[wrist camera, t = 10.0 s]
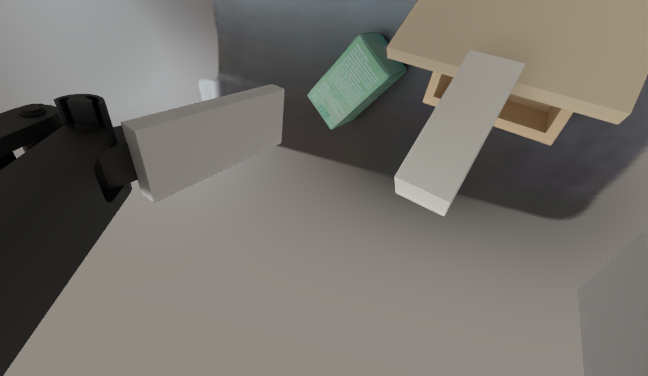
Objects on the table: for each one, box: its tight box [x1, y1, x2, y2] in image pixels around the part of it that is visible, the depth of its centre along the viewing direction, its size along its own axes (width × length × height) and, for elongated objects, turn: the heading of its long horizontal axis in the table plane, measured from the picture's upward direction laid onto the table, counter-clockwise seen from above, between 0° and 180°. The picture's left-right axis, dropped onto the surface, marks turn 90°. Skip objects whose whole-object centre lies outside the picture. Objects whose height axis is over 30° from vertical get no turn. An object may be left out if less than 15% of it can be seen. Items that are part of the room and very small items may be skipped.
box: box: [307, 33, 407, 130], centre depth 46 cm, size 7×14×8 cm, turn 136°
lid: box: [387, 0, 648, 216], centre depth 18 cm, size 27×14×2 cm
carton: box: [423, 71, 573, 145], centre depth 31 cm, size 18×14×10 cm
